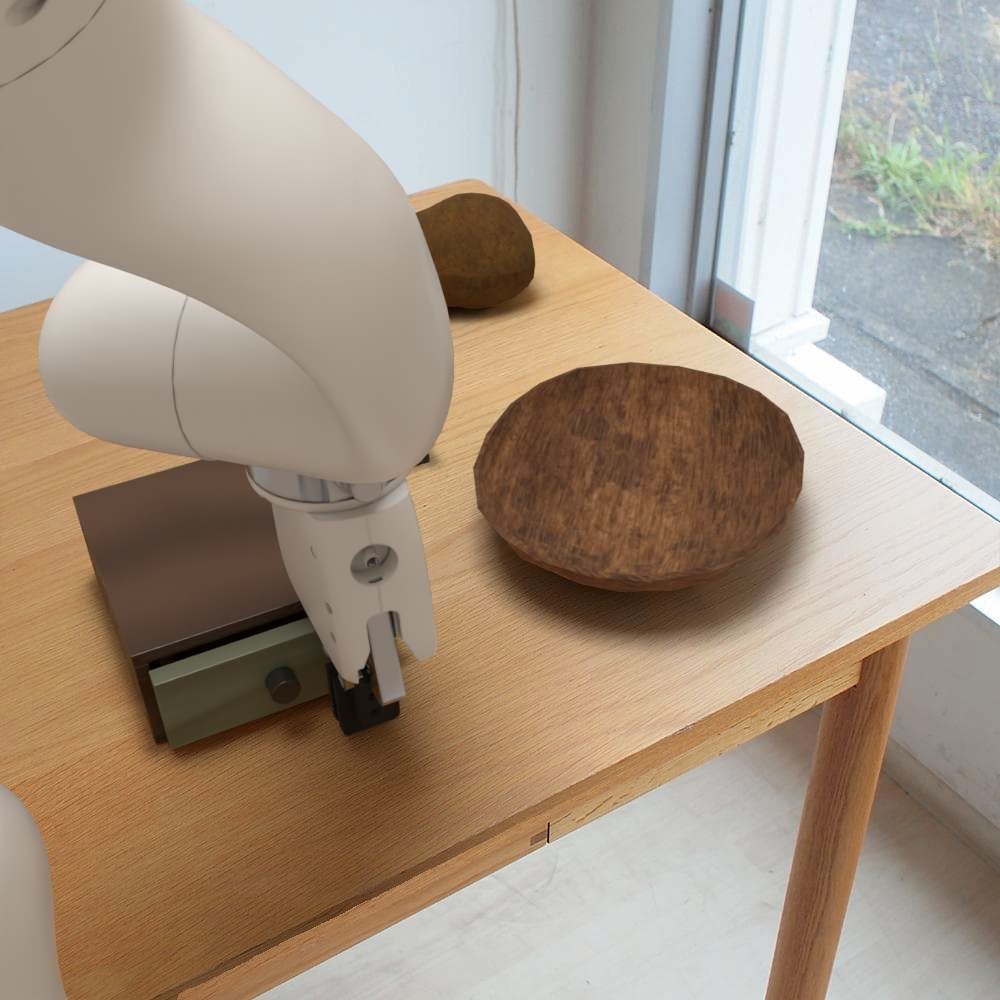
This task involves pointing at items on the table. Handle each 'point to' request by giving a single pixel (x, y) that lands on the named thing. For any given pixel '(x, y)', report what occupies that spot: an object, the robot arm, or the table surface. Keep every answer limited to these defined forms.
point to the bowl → (639, 475)
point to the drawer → (239, 678)
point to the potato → (478, 249)
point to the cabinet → (183, 563)
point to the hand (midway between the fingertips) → (367, 716)
